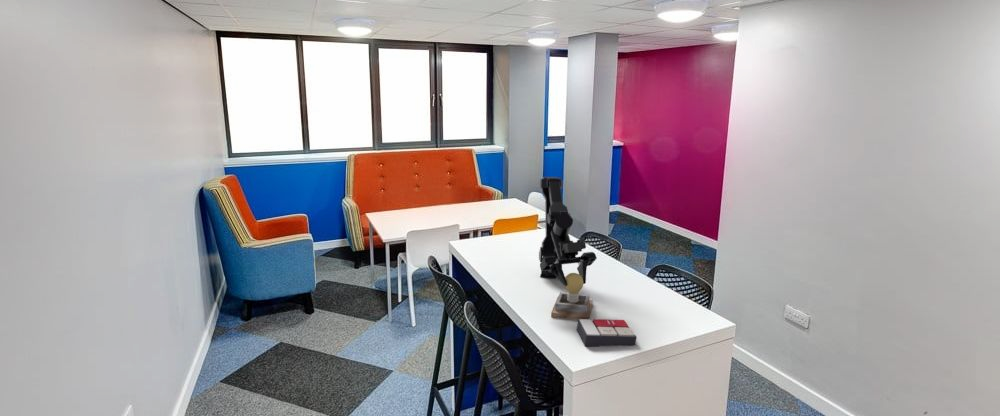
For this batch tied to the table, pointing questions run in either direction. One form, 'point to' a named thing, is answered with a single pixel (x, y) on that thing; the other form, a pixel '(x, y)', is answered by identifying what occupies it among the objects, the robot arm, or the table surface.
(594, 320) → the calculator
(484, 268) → the table surface
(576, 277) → the light bulb
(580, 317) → the square frame
